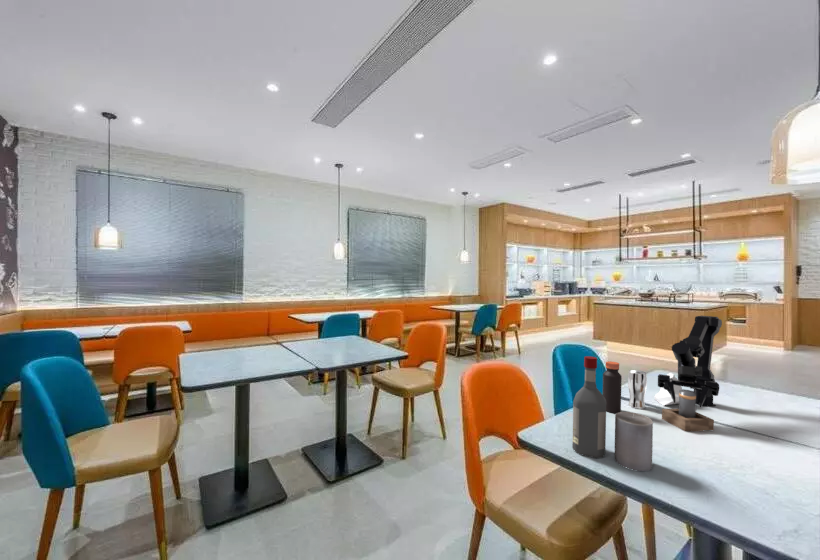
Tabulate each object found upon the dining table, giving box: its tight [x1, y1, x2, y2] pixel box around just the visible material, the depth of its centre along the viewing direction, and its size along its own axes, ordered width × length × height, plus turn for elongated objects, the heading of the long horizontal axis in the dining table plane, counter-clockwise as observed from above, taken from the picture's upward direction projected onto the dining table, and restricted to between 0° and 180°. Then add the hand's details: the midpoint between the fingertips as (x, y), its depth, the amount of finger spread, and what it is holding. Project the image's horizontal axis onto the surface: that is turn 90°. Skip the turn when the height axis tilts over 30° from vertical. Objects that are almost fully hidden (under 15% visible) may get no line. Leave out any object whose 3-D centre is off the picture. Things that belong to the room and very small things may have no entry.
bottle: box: [602, 361, 623, 414], centre depth 149 cm, size 7×7×20 cm
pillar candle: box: [613, 411, 654, 472], centre depth 107 cm, size 10×10×15 cm
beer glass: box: [627, 369, 648, 410], centre depth 154 cm, size 7×7×15 cm
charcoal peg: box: [678, 388, 697, 418], centre depth 136 cm, size 5×5×12 cm
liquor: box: [571, 355, 607, 459], centre depth 114 cm, size 9×9×30 cm
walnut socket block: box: [661, 408, 715, 432], centre depth 136 cm, size 11×11×4 cm
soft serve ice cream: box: [654, 372, 683, 407], centre depth 159 cm, size 12×15×14 cm
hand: (687, 404), depth 135 cm, fingers open, 7 cm apart
